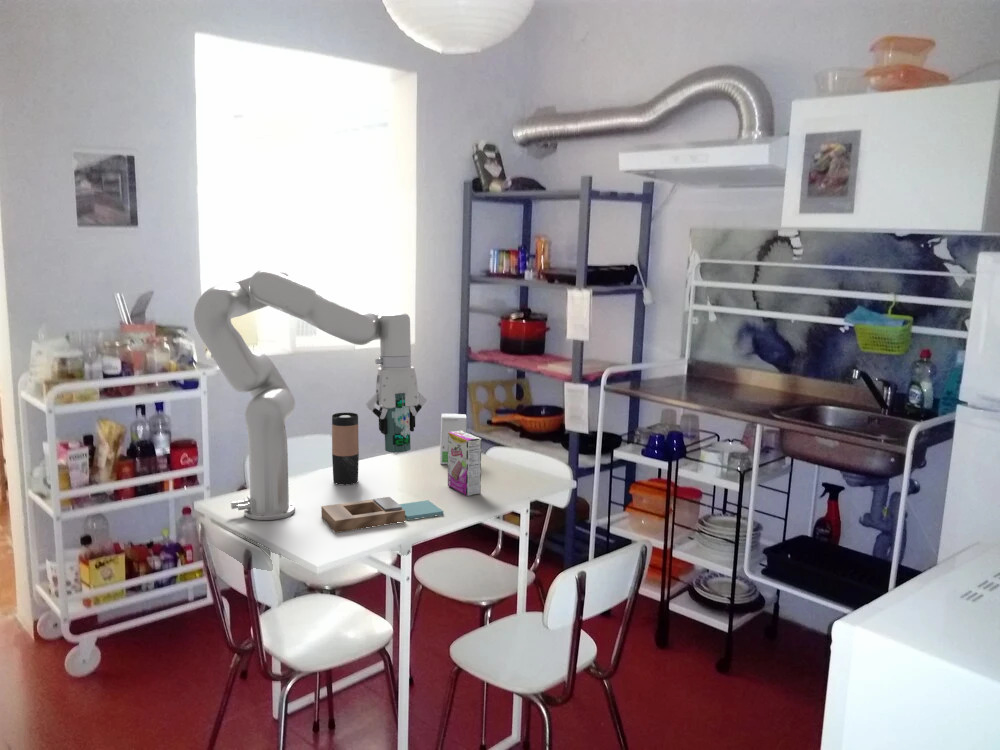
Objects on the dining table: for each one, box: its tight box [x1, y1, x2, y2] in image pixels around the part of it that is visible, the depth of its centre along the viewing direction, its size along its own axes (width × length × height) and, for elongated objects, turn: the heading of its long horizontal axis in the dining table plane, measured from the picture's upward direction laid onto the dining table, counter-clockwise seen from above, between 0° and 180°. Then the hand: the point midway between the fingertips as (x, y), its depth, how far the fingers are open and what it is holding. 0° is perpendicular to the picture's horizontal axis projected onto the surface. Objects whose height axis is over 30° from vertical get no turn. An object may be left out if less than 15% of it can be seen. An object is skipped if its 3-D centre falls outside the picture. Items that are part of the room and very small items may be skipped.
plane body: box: [320, 496, 406, 533], centre depth 199 cm, size 18×12×4 cm, turn 118°
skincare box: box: [439, 413, 468, 465], centre depth 254 cm, size 8×7×16 cm
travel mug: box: [331, 412, 360, 486], centre depth 230 cm, size 8×8×20 cm
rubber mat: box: [398, 499, 444, 521], centre depth 206 cm, size 10×10×1 cm
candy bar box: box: [447, 430, 482, 497], centre depth 224 cm, size 11×5×16 cm, turn 34°
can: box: [384, 393, 411, 454], centre depth 199 cm, size 6×6×15 cm
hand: (397, 431), depth 200 cm, fingers closed on can, 6 cm apart
